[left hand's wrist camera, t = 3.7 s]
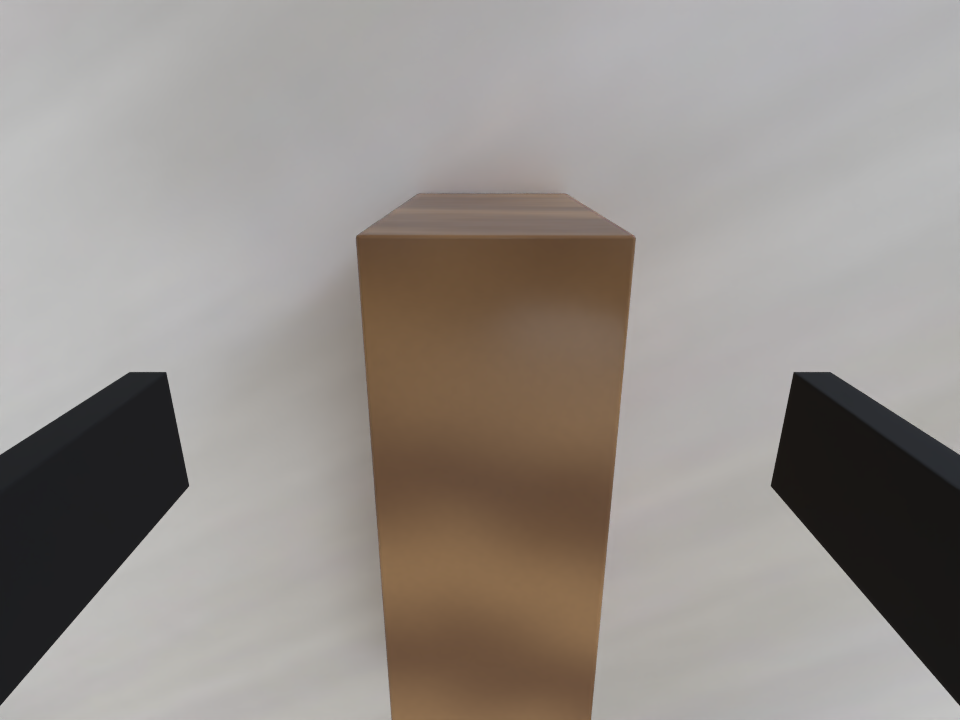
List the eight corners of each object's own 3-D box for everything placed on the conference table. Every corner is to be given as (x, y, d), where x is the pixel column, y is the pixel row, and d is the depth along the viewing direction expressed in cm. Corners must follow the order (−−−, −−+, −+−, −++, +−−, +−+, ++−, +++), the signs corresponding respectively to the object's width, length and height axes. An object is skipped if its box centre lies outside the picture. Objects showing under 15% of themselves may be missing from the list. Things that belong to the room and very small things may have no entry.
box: (417, 193, 24) (354, 234, 13) (567, 193, 24) (637, 235, 13) (433, 650, 32) (405, 913, 21) (544, 652, 32) (573, 916, 21)
